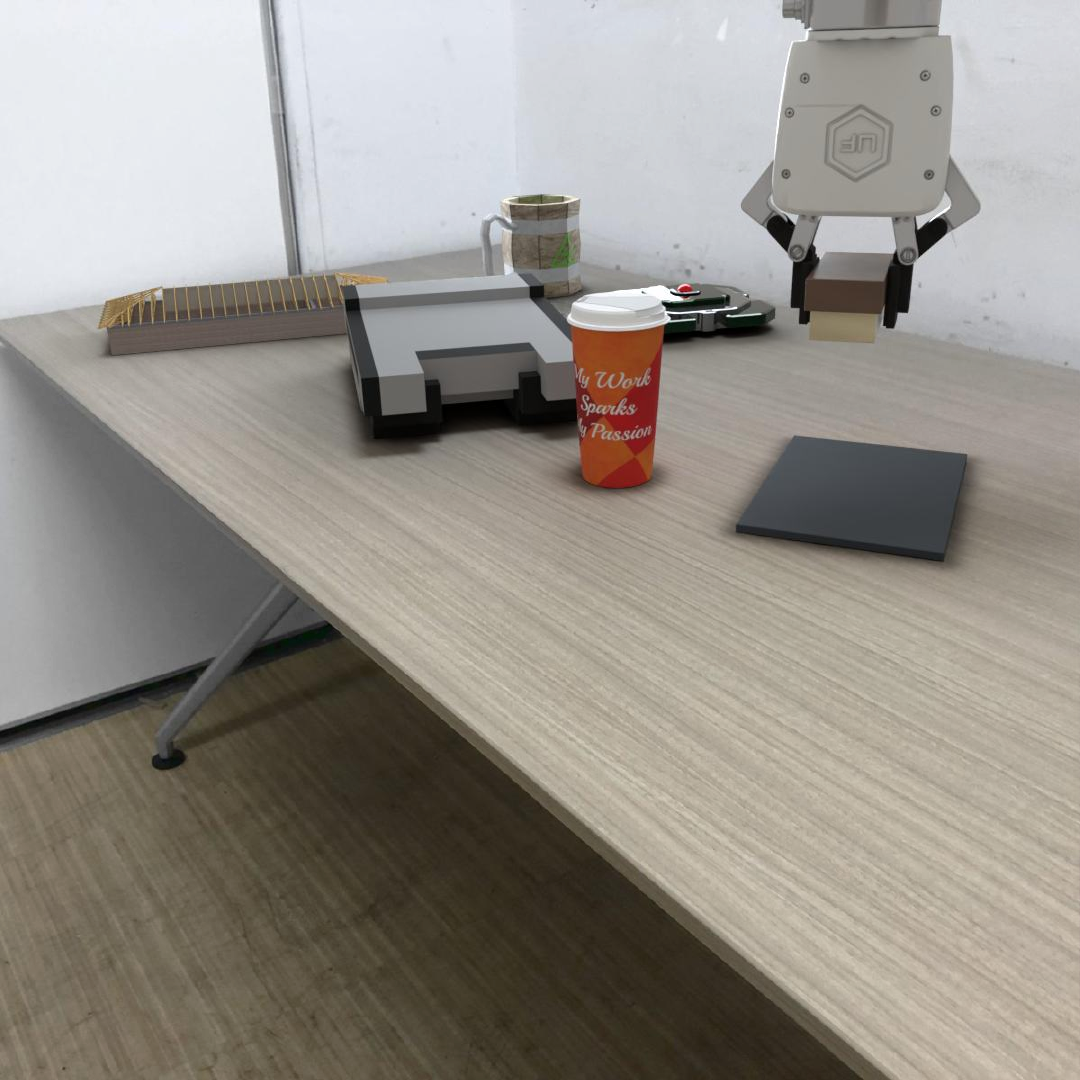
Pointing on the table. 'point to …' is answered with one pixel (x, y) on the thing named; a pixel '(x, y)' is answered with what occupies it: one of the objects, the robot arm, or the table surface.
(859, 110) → the robot arm
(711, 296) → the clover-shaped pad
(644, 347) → the paper cup
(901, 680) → the table surface
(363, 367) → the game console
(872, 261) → the scrubber
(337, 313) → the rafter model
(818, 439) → the mat
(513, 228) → the mug
